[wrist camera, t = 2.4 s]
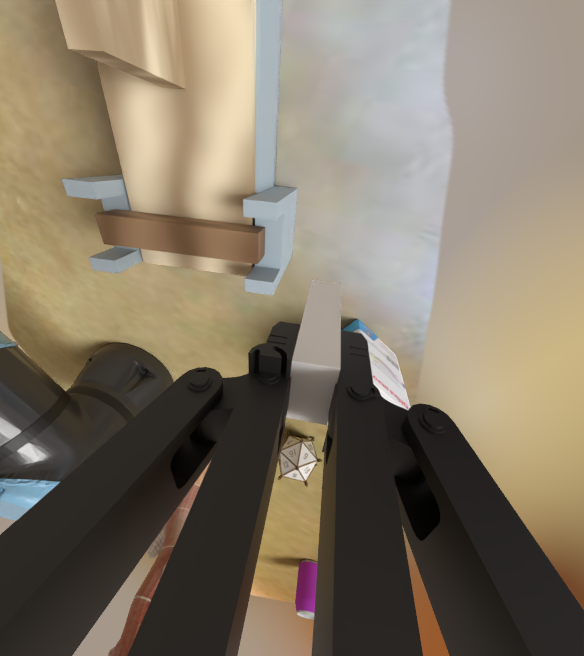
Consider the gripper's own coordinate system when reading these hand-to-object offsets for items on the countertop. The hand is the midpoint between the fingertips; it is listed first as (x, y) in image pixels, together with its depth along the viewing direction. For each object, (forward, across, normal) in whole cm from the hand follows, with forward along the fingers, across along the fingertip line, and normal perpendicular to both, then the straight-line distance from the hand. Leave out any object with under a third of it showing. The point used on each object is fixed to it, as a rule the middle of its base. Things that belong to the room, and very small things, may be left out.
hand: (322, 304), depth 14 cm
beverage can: (+19, +10, -105) cm, 107 cm away
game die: (+19, 0, -40) cm, 45 cm away
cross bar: (+11, -13, 0) cm, 17 cm away
